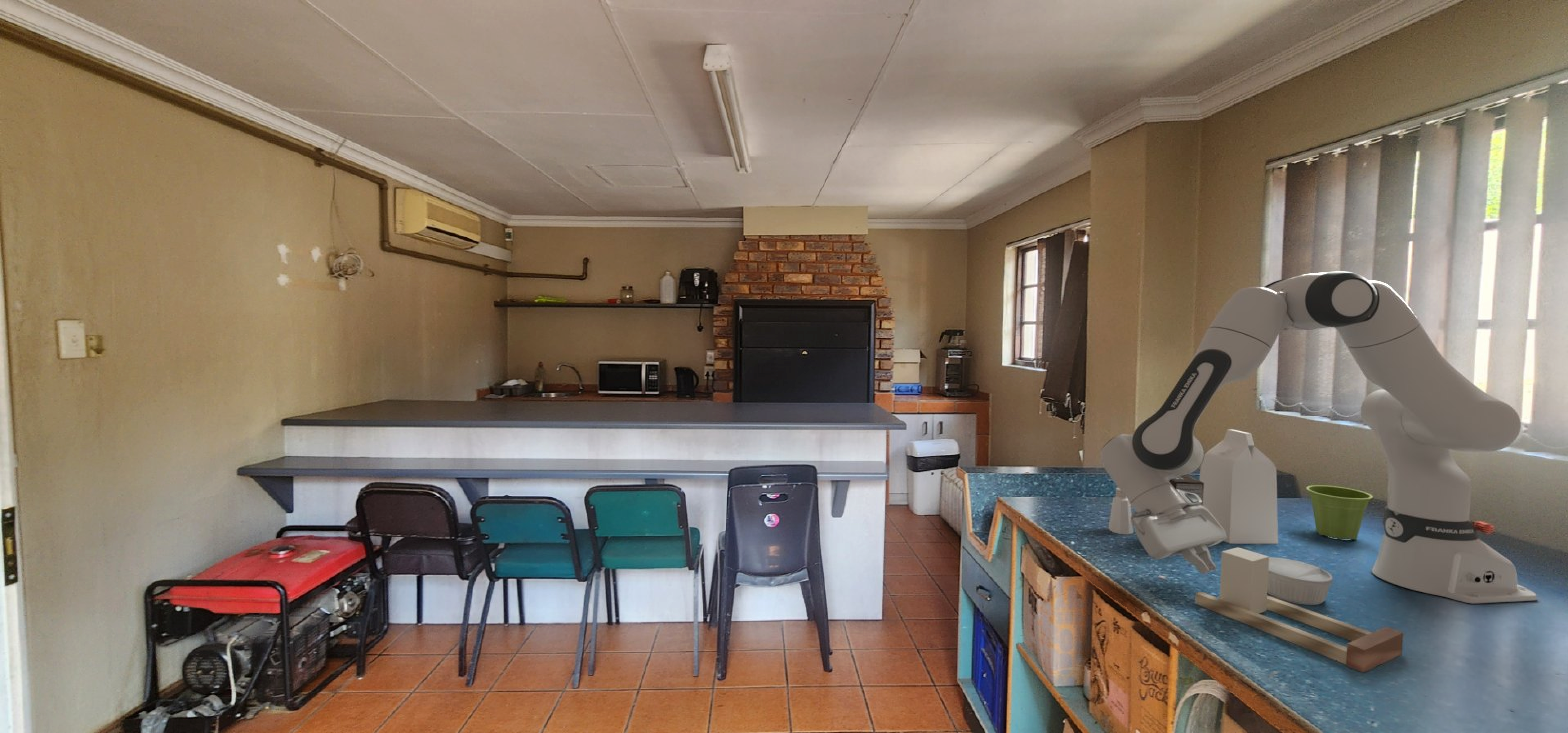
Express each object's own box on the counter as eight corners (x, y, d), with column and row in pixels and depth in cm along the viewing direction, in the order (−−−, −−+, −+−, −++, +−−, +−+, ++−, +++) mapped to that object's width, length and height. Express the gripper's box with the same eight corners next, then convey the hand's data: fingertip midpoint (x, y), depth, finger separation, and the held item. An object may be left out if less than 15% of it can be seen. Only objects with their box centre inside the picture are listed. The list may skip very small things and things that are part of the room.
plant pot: (1292, 527, 150) (1294, 484, 149) (1343, 529, 148) (1345, 485, 148) (1328, 544, 138) (1330, 497, 138) (1384, 546, 137) (1387, 499, 136)
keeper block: (1219, 604, 107) (1221, 551, 107) (1235, 599, 109) (1237, 547, 109) (1250, 616, 103) (1252, 561, 102) (1266, 610, 105) (1269, 556, 104)
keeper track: (1193, 604, 108) (1194, 585, 108) (1231, 592, 113) (1232, 574, 113) (1363, 673, 86) (1364, 650, 86) (1401, 654, 91) (1403, 632, 91)
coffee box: (1155, 535, 145) (1157, 471, 144) (1184, 536, 143) (1186, 472, 142) (1172, 548, 136) (1174, 480, 135) (1202, 550, 134) (1205, 482, 133)
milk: (1278, 543, 139) (1283, 435, 137) (1229, 543, 139) (1234, 435, 137) (1239, 526, 151) (1243, 427, 149) (1194, 526, 151) (1198, 427, 149)
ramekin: (1338, 614, 104) (1340, 585, 104) (1259, 599, 110) (1260, 572, 110) (1322, 590, 114) (1324, 564, 114) (1250, 577, 120) (1251, 553, 119)
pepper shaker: (1133, 530, 148) (1134, 487, 148) (1132, 536, 144) (1134, 492, 143) (1109, 526, 151) (1110, 484, 151) (1107, 532, 147) (1108, 489, 146)
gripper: (1137, 506, 113) (1188, 574, 105) (1202, 493, 121) (1254, 555, 113) (1115, 521, 117) (1162, 588, 109) (1179, 508, 126) (1227, 569, 117)
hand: (1209, 571), depth 111 cm, fingers closed
